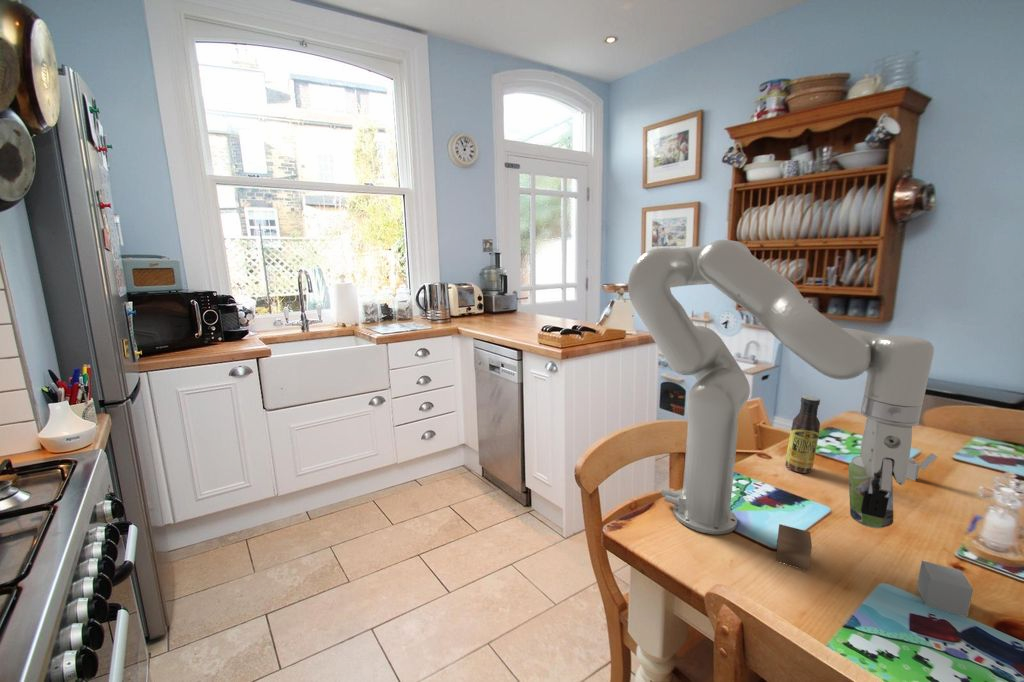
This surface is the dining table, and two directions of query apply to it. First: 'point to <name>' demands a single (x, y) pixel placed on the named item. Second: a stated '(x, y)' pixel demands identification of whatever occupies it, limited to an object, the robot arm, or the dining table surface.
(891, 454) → the robot arm
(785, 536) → the walnut block
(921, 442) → the dining table surface
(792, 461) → the sauce bottle
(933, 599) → the slate grey block
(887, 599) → the dining table surface
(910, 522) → the dining table surface
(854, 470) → the beverage can
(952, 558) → the dining table surface
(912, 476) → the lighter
